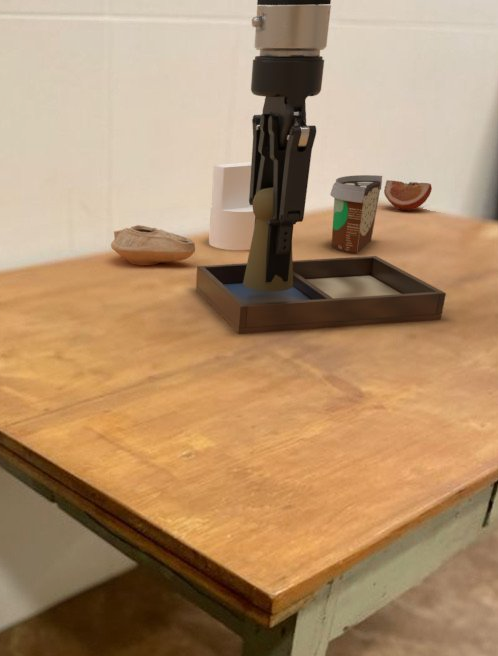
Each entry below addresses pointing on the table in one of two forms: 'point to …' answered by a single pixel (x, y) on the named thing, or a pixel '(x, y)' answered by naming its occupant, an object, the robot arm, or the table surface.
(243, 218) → the cylinder with rectangular tab
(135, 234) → the pottery oil lamp
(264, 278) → the olive knobbed cone
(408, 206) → the fruit slice
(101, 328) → the table surface
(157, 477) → the table surface
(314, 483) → the table surface
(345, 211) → the food container
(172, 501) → the table surface
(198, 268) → the sorting tray
